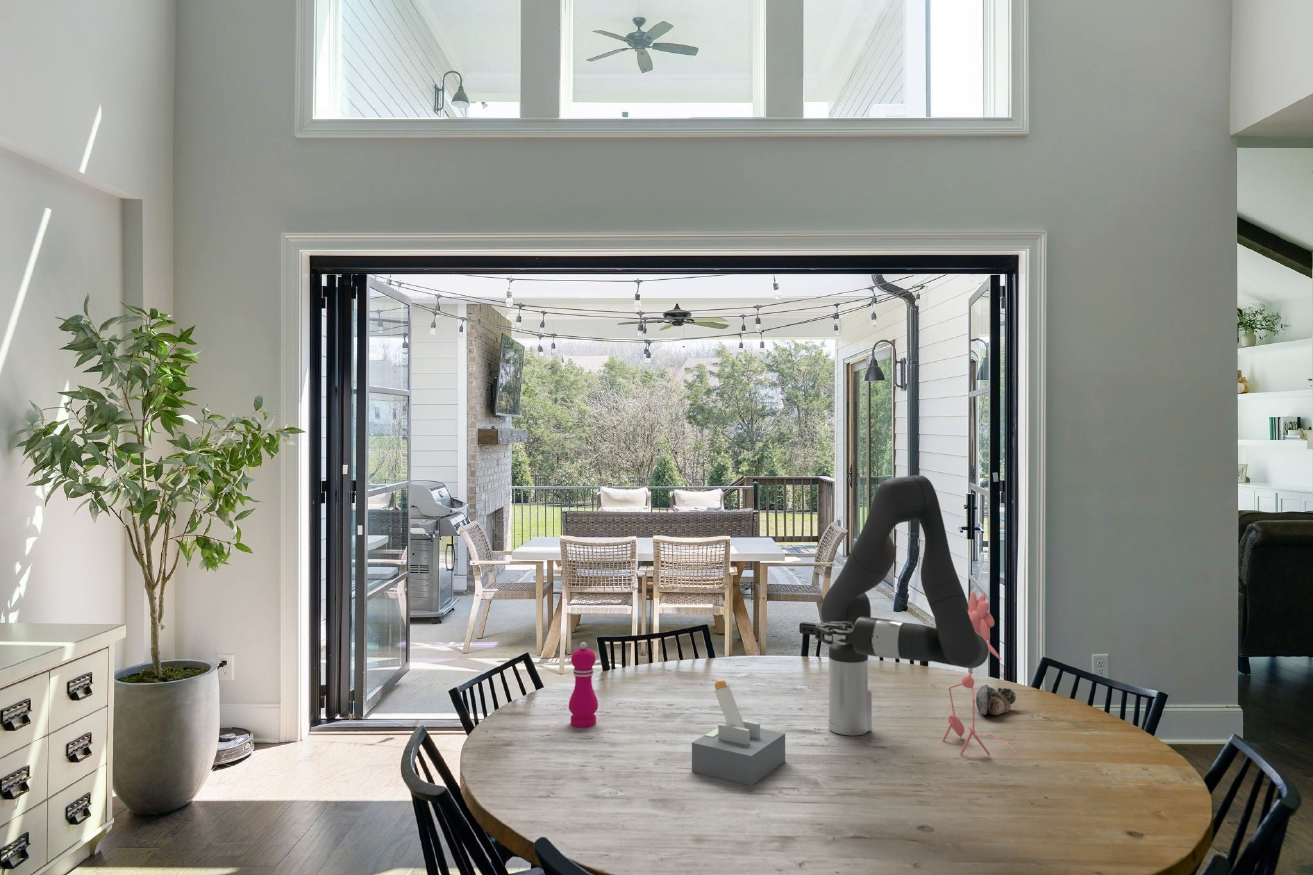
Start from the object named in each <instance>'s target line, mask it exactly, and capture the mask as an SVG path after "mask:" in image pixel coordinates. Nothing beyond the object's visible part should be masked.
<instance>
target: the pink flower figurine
mask: <svg viewBox="0 0 1313 875" xmlns="http://www.w3.org/2000/svg"><path fill="white" fill-rule="evenodd" d="M967 602H968V606H969V610H968V614H969V617H970V619H971V622H972V625H973V627H974V630H975V632H976V633H978V634H979V635H981V636H982V637H983V638H984V640H985V641H986V643H987V645H988V649H989V652H990V653H991V654H992V656H994V657H996V658H997V659H998V660H1002V658H1001V657H1000V655H999V654H998V652H997V650H995V648H994V647H993V646H992V645H991V644H990V643H989V640H990V639H991V633H990V632H991V631H990V628H992V627H994V626H995V619H994V617H993V615H992V614H991V613H989V610H990V603H989V602H988V601H987V600H986V595H985V594H981V595H979V597H977V596H976V592H975V591H971V592H970V596H969V600H968V601H967ZM969 669H970V671H969V675H965V676H963V677H962V679H961V683H958V684H955V685H952V686H949V687H948V692H949V697H950V703H951V708H952V709H951V710H952V714H950V715H949V716H948V724H949V725H948V727H947V730H946V731H945V734H944V736H943V737H942V739H941V741H943V742H945V741H946V740H947V737H948V735H949V733H950V731H951V729H952V730H953V731H954V732H955V734H957V735H958V736H959V737H960V738H961V737H963V735H964V734H965V726H964V724H963V723H962V721H961V719H960V718H958V716H956V713H955V708H954V702H953V695H952V689H954V688H957V687H959V686H963V687H964V688H965V689H966V688H967V689H971V694H972V728H971V726H969V727H968V730H969V731H970V733H969V734H968V736H967V739H966V740H965V742H964V745H963V747H962V748H961V751H960V753H959V755H960V756H963V754H964V752H965V750H966V748H967V746H968V744H969V743H970V740H971V738H972V736H973V737H974V739H975V740H976V742H977V743H978V744H979V745H980V746H981V747H982V749H983V750H984V752H985V753H986V754H987V755H988V757H991V754H990V753H989V751H988V750H987V748H986V746H985V745H984V743H983V741H981V740H980V738H979V736H977V734H979V735H983V736H986V737H990V738H993V739H994V740H995V739H996V740H999V741H1000V742H1003V743H1005V744H1006V745H1008V746H1010V747H1011V748H1012V750H1014V751H1016V749H1014V747H1013V746H1012V744H1011V743H1010V742H1006V741H1004V740H1001V739H999V738H997V737H995V736H993V735H989V734H986V733H985V734H984V733H980V732H976V730H975V714H976V713H975V712H976V710H975V708H976V707H975V706H976V699H975V695H974V694H975V693H974V692H975V691H974V686H975V679H974V678H973V676H972V673H973V669H974V668H969ZM968 764H970V765H977V763H974V762H968Z"/></svg>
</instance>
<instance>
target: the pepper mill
mask: <svg viewBox="0 0 1313 875" xmlns="http://www.w3.org/2000/svg"><path fill="white" fill-rule="evenodd" d="M587 647H588V644H587V642H584V641H583V642H580V644H579V648H577V649H575V650H574V651H573V652H572V654H571V658H570V661H571V662H570V663H571V665H572V666H573V667H574V668H573V669H572V671H573V676H574V680H575V681H574V687H573V688H574V689H573V691H572V693H571V696H570V697H569V702H568V710H569V712H570V713H571V714H572V715H571V716H570V725H571V726H572V727H575V728H584V729H585V728H590V727H593V726H595V725H596V724H597V716H596V714H595V713H596V712H597V711H598V708H599V701H598V697H597V696H596V692H595V690H594V686H593V682H592V681H593V680H592V677H593V675H594V668H593V667H594V665H595V663H596V654H595V652H594V651H593V650H592V649H589V648H587Z"/></svg>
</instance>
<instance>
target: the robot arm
mask: <svg viewBox="0 0 1313 875" xmlns="http://www.w3.org/2000/svg"><path fill="white" fill-rule="evenodd" d="M939 502H940V501H939V498H938V495H937V492H936V489H935V487H934V484H932V482H931V480H930V479H928V477H926V476H924V475H920V474H918V475H916V474H915V475H907V476H899V477H893V478H892V477H891V478H888V479H885V480H884V481H883V482H880V484H879V485H878V488H877V489H876V491H875V494H874V497H873V500H872V502H871V506H870V508H869V511H868V515H867V517H866V520H865V522H864V525H863V527H862V529H861V531H860V534H859V536H858V538H857V539H856V541H855V543H854V544H853V547H852V549H851V551H850V553H849V554H848V557H847V558H846V559H847V560H846V562H845V564H844V566H843V568H842V570H841V572H840V573H839V575H838V576H837V578H836V579H835V581H834V582H833V583H832V585H831V586H830V587H829V589H828V591H827V592H826V593H825V595H824V597H823V601H822V603H821V608H820V617H821V621H822V622H819V623H815V622H810V621H809V622H808V621H807V622H806V621H802V622H800V623H799V628H798V629H799V630H798V631H799V633H800V634H802V635H810V636H814V639H815V640H818V641H819V642H823V643H824V644H827V645H829V647H828V729H829V730H830V731H831V732H833V733H835V734H839V735H843V736H862V735H865V734H867V733H868V732H871V731H872V730H873V728H872V727H873V723H872V722H873V716H872V713H873V712H872V711H873V708H872V707H873V705H872V704H873V703H872V702H873V701H872V699H873V695H872V694H873V692H872V690H870V689H869V656H872V657H876V658H877V657H879V658H885V659H886V658H887V659H900V660H901V659H903V660H909V661H915V662H916V661H917V662H934V663H938V664H939V663H940V664H944V665H949V666H955V667H959V668H960V667H961V668H965V669H971V668H973V669H975V668H978V667H980V666H982V665H983V664H984V663H985V662H986V661H987V660H988V657H989V652H990V651H989V649H988V645H987V643H986V641H985V640H984V638H983V637H982V636H981V635H979V634H978V633H976V632H975V630H974V627H973V625H972V622H971V619H970V617H969V614H968V612H969V606H968V602H969V601H968V599H967V597H966V594H965V591H964V589H963V587H962V583H961V581H960V579H959V576H958V573H957V571H956V568H955V565H954V562H953V559H952V554H951V550H950V546H949V542H948V537H947V533H946V529H945V528H946V527H945V523H944V518H943V515H942V510H941V506H940V503H939ZM913 521H914V522H915V521H919V523H920V525H921V529H922V531H923V535H924V551H923V556H922V561H921V566H920V567H921V568H920V581H921V586H922V589H923V592H924V595H925V597H926V600H927V603H928V606H929V608H930V611H931V613H932V615H933V619H934V624H935V627H932V626H930V625H926V624H920V623H919V624H918V623H913V622H912V623H909V622H903V621H898V620H894V619H889V618H880V617H872V610H871V602H870V599H869V597H868V594H867V592H869V591H870V590H872V589H874V588H875V587H876V586H878V585H879V584H881V583H882V582H883V581H884V579H886V577H887V576H888V574H889V573H890V571H891V568H892V567H893V566H894V563H895V560H896V556H897V555H896V548H895V544H894V542H893V540H892V538H891V534H892V531H893V530H894V528H895V527H896V526H897V525H899V524H902V523H908V522H913Z"/></svg>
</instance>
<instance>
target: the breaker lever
mask: <svg viewBox="0 0 1313 875" xmlns="http://www.w3.org/2000/svg"><path fill="white" fill-rule="evenodd" d="M714 688H715V690H714V693H715V695H716V698H717V701H718V704H719V706H720V709H721V711H722V714H723V716H724V719H725V722H726V723H727V724H728V725H731V726H736V727H740V728H745V726H744V723H743V720H744V719H742V715H741V713H740V711H739V708H738V706H737V703H736V700H735V698H734V695H733V693H732V689H731V687H730V685H729V684H727V681H725V680H724V679H722V678H721V679H719V678H718V679H717V680H716V681H715V683H714ZM745 729H746V728H745Z"/></svg>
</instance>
